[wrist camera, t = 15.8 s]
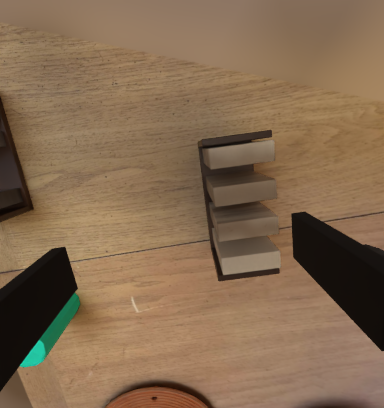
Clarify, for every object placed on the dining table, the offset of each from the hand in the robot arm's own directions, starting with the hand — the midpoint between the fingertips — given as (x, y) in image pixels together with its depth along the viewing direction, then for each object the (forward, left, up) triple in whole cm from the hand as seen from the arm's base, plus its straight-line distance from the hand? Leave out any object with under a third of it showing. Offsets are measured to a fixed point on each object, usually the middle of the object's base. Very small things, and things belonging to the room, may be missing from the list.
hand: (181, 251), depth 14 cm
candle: (+26, -15, -25) cm, 39 cm away
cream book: (+5, +10, -24) cm, 26 cm away
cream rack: (-1, +7, -25) cm, 26 cm away
